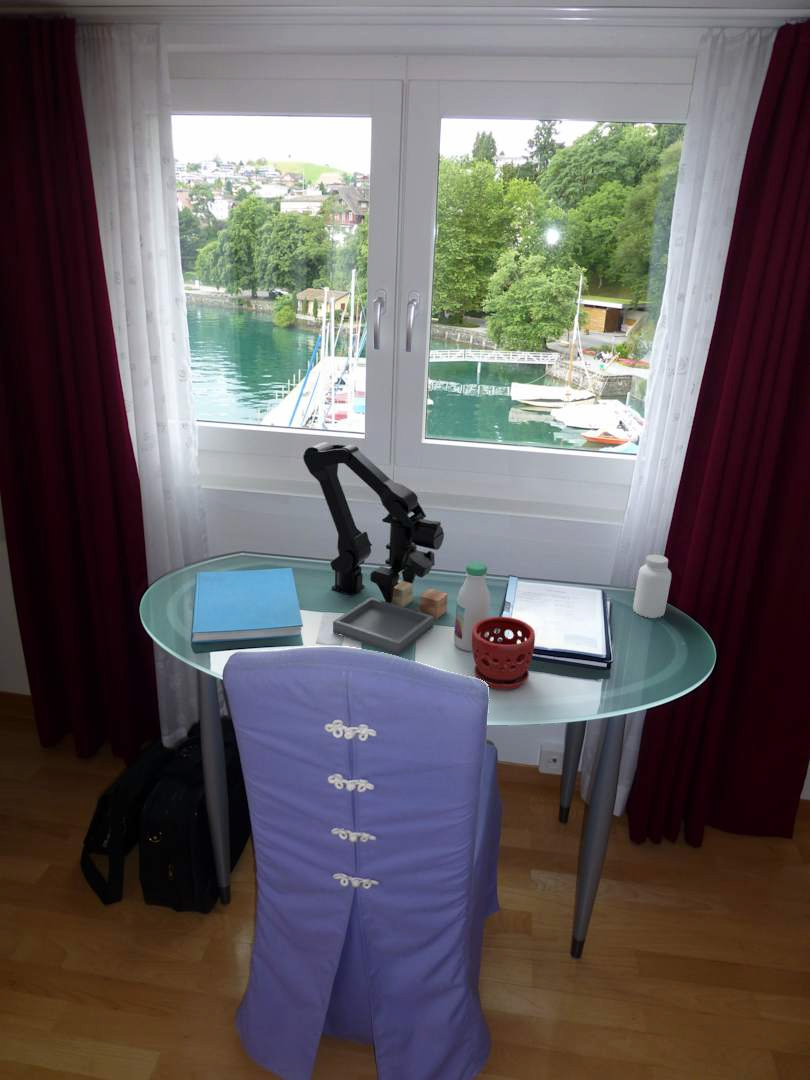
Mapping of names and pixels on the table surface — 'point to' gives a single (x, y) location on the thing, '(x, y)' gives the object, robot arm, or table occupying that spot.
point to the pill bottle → (652, 587)
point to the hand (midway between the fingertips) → (398, 597)
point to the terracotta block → (433, 603)
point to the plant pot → (502, 652)
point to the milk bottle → (471, 605)
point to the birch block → (402, 593)
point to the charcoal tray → (383, 625)
